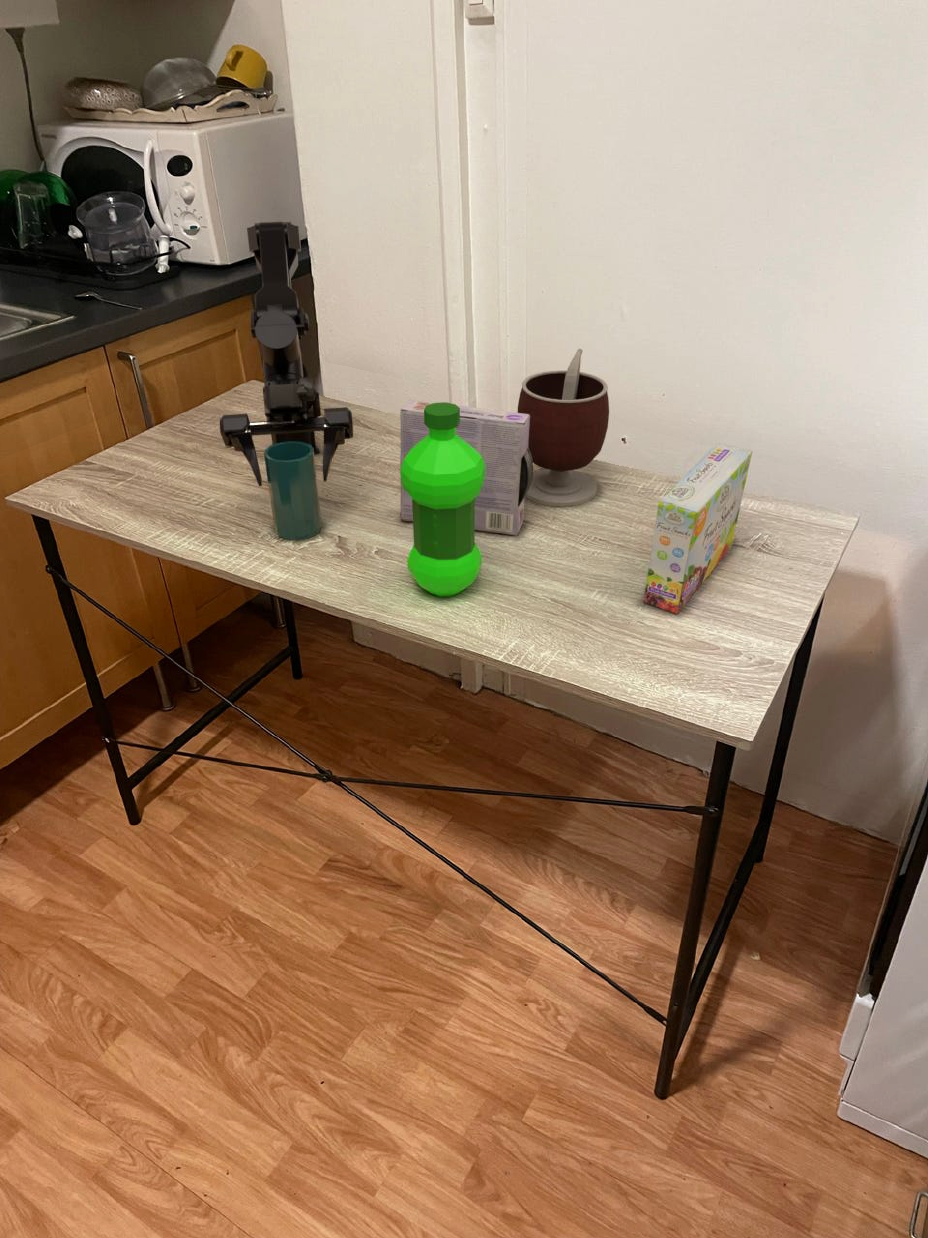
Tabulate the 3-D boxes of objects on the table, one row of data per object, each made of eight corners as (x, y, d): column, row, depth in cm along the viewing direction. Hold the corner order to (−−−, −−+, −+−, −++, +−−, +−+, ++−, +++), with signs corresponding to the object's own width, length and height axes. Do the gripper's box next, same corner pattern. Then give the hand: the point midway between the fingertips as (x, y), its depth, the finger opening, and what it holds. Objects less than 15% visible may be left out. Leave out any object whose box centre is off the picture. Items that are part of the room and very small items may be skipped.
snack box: (682, 617, 117) (698, 512, 109) (640, 604, 120) (654, 500, 111) (735, 545, 132) (754, 448, 123) (698, 535, 134) (714, 439, 126)
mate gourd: (590, 515, 140) (600, 388, 128) (503, 500, 144) (506, 376, 132) (612, 472, 152) (624, 353, 140) (532, 460, 156) (537, 343, 144)
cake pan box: (531, 522, 138) (536, 410, 128) (524, 538, 134) (529, 424, 124) (409, 507, 142) (405, 397, 132) (399, 522, 138) (394, 410, 128)
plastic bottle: (431, 558, 129) (426, 387, 115) (497, 579, 125) (500, 403, 110) (391, 592, 122) (381, 414, 108) (459, 615, 118) (458, 432, 103)
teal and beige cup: (311, 513, 140) (302, 437, 133) (328, 533, 135) (320, 455, 128) (268, 524, 138) (257, 447, 131) (284, 544, 133) (274, 465, 126)
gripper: (210, 360, 126) (217, 468, 123) (346, 352, 128) (357, 458, 125) (222, 394, 137) (229, 494, 134) (347, 387, 139) (357, 485, 136)
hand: (292, 482), depth 132 cm, fingers open, 9 cm apart
